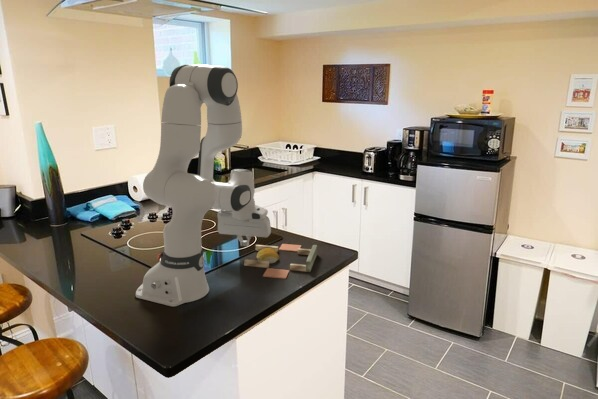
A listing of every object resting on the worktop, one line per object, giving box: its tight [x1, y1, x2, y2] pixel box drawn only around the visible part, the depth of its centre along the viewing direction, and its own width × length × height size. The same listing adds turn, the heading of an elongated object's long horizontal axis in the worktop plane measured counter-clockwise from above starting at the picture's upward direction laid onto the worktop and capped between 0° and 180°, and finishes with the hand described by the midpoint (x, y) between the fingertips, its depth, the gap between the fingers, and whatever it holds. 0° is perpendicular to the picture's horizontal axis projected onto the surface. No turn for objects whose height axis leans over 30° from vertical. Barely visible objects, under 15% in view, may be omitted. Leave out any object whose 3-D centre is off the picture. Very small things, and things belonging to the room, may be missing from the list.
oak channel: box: [243, 244, 318, 273], centre depth 156 cm, size 24×15×4 cm, turn 79°
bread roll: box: [256, 248, 280, 265], centre depth 157 cm, size 8×9×4 cm
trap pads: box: [262, 243, 302, 280], centre depth 157 cm, size 8×29×1 cm, turn 169°
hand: (244, 245), depth 159 cm, fingers closed
